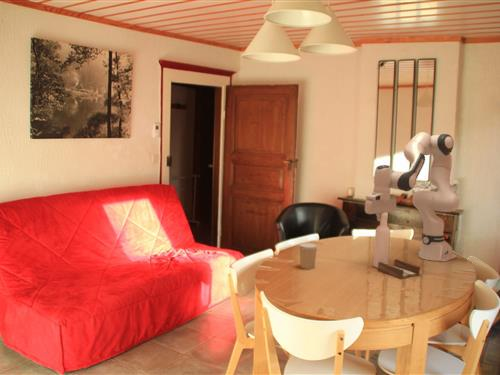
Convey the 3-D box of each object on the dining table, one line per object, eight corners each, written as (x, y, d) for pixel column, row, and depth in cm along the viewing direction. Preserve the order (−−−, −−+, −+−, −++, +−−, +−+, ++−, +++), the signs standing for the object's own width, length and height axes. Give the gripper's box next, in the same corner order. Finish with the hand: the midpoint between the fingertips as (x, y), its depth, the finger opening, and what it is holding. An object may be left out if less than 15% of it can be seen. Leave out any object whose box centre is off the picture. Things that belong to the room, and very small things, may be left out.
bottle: (388, 269, 273) (392, 214, 268) (373, 267, 275) (377, 213, 270) (387, 264, 281) (391, 211, 276) (372, 263, 282) (376, 210, 278)
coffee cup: (318, 265, 277) (319, 244, 275) (313, 270, 269) (313, 248, 267) (302, 263, 281) (302, 242, 279) (296, 268, 273) (297, 246, 271)
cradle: (396, 267, 277) (396, 259, 276) (419, 275, 263) (419, 266, 263) (377, 270, 270) (378, 262, 270) (400, 279, 257) (401, 270, 256)
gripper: (391, 193, 282) (389, 218, 284) (363, 195, 272) (362, 221, 274) (399, 195, 277) (398, 220, 278) (371, 197, 266) (370, 223, 268)
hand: (380, 220), depth 276 cm, fingers closed, pressing on bottle
